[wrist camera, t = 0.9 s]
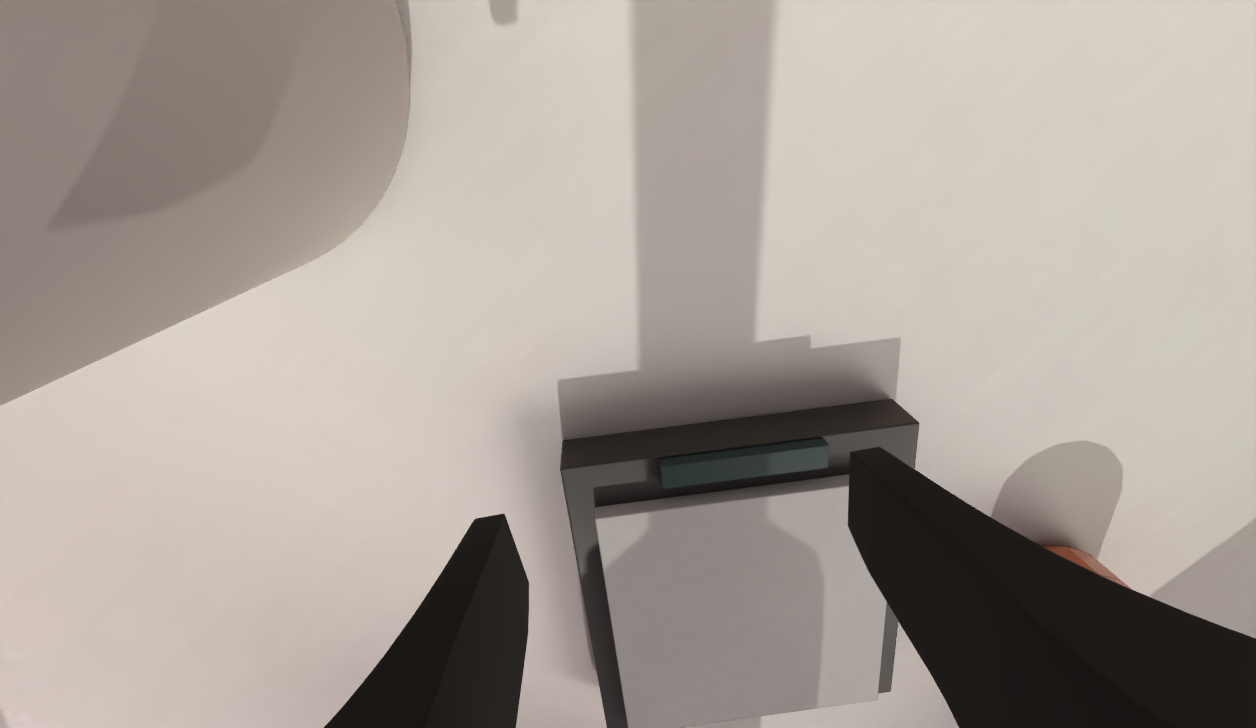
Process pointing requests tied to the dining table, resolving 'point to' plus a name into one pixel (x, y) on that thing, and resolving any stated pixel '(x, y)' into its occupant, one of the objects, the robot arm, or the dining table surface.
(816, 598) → the scale
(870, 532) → the robot arm
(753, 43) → the dining table surface
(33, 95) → the cylinder vase
